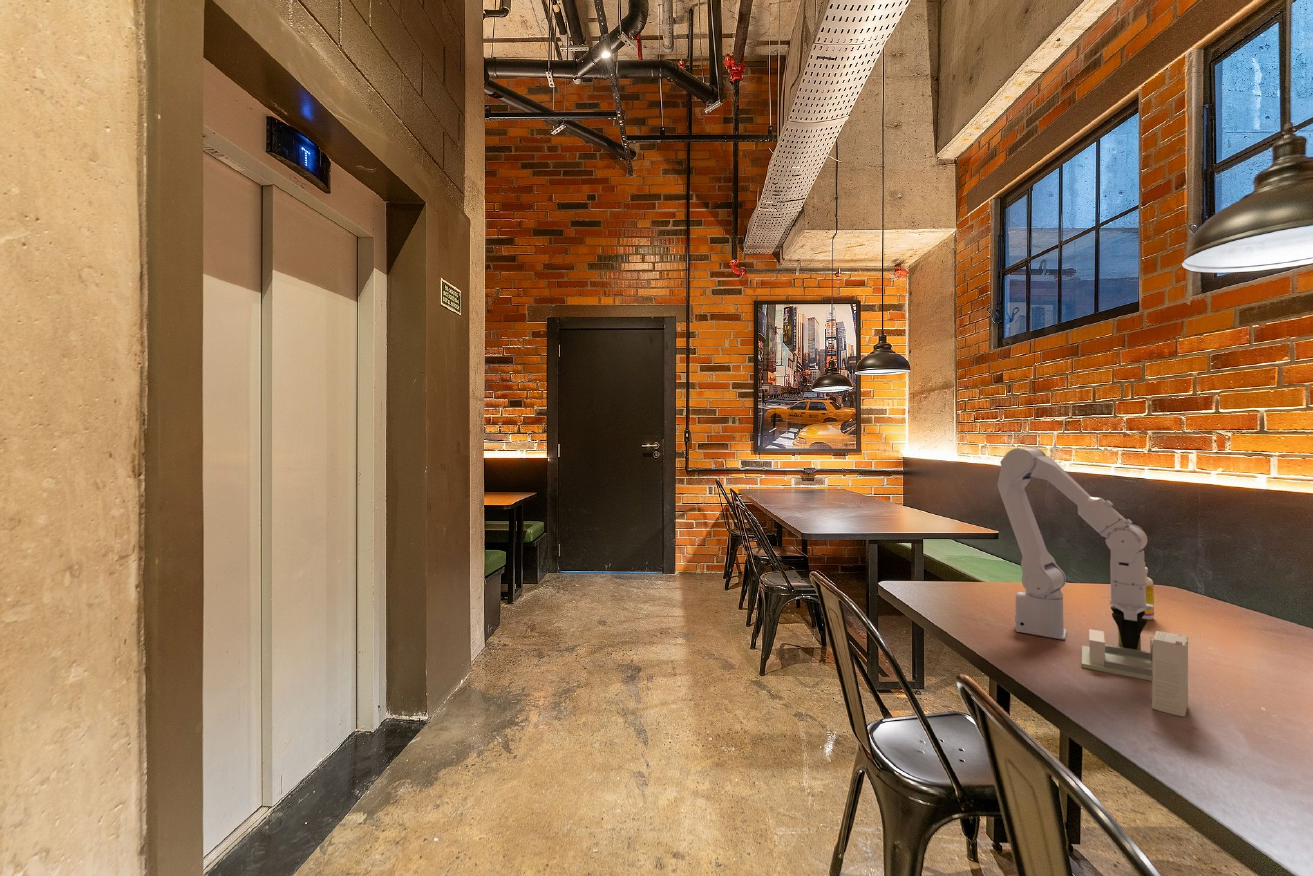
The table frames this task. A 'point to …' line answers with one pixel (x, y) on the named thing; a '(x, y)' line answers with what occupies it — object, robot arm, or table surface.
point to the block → (1121, 641)
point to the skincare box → (1170, 673)
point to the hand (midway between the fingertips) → (1129, 645)
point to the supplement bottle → (1149, 597)
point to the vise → (1115, 658)
